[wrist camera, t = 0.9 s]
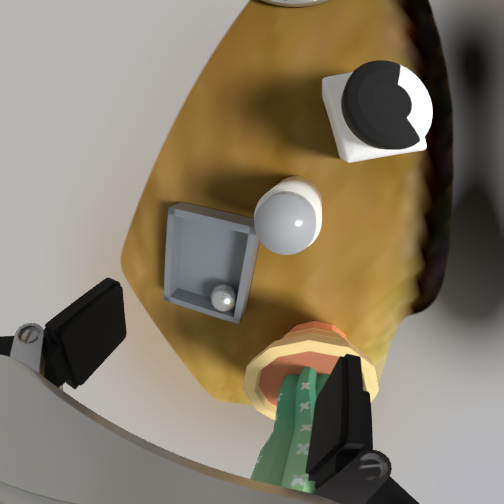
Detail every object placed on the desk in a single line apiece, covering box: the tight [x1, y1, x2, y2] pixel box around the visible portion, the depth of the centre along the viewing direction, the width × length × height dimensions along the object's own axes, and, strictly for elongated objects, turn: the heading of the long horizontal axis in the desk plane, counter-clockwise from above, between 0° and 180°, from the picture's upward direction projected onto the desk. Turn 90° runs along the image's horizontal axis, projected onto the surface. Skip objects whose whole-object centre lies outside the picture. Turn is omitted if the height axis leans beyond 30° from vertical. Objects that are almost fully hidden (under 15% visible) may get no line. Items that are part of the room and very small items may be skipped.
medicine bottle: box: [322, 60, 432, 163], centre depth 19 cm, size 7×7×12 cm
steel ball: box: [210, 284, 237, 312], centre depth 33 cm, size 3×3×3 cm
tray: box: [164, 202, 260, 324], centre depth 32 cm, size 12×10×3 cm
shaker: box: [254, 176, 322, 255], centre depth 24 cm, size 5×5×10 cm
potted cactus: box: [243, 321, 379, 493], centre depth 24 cm, size 15×15×25 cm
